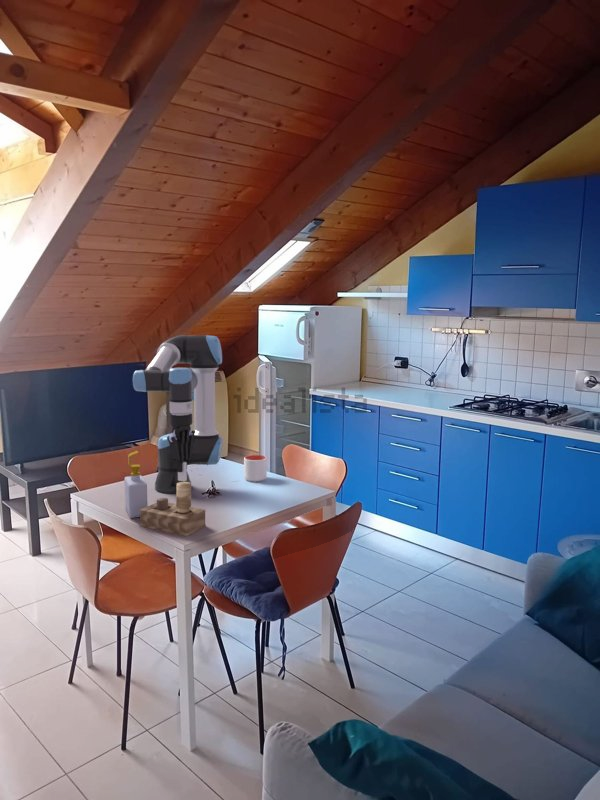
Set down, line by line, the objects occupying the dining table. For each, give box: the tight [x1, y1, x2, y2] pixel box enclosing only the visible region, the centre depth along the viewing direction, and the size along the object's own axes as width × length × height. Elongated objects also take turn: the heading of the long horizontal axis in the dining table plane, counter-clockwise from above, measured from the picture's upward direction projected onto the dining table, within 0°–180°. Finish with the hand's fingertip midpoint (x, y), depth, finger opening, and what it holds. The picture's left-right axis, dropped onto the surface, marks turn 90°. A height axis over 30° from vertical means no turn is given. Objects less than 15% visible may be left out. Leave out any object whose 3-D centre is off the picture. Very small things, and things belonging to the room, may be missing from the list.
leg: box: [175, 482, 192, 515], centre depth 216 cm, size 5×5×15 cm
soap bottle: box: [124, 450, 149, 519], centre depth 231 cm, size 12×7×23 cm, turn 23°
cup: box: [243, 454, 268, 483], centre depth 277 cm, size 10×10×10 cm
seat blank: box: [139, 497, 206, 537], centre depth 219 cm, size 20×11×9 cm, turn 64°
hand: (182, 480), depth 214 cm, fingers closed
